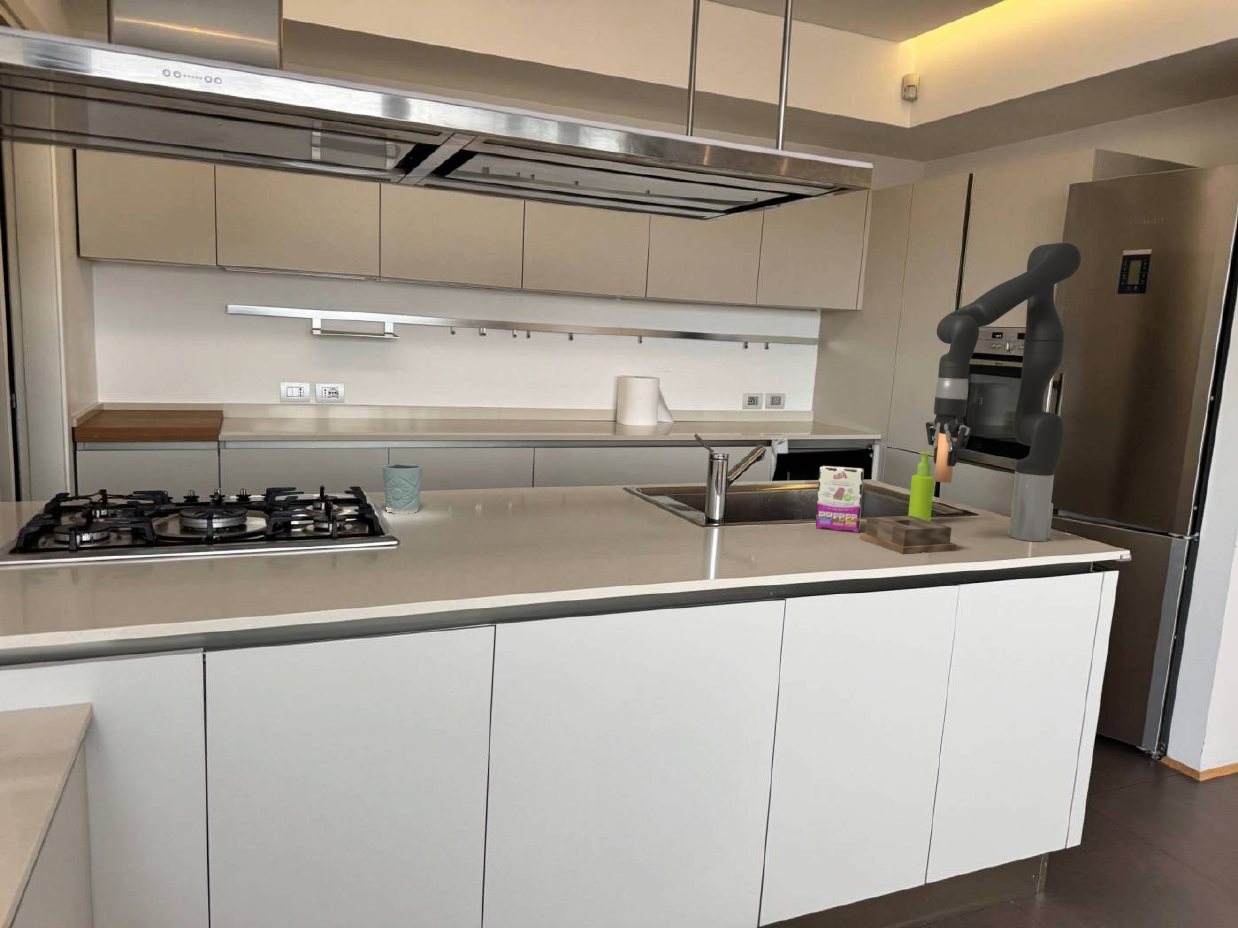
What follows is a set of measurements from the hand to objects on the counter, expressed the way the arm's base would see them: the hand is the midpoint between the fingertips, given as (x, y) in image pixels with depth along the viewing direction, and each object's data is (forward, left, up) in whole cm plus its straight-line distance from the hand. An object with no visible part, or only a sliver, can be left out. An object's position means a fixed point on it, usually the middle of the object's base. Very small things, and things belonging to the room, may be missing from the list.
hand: (944, 464), depth 222 cm
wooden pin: (0, 0, -4) cm, 4 cm away
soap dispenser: (-11, -18, -20) cm, 29 cm away
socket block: (+12, +3, -19) cm, 23 cm away
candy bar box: (+19, -16, -20) cm, 32 cm away
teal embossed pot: (+124, -60, -20) cm, 139 cm away
